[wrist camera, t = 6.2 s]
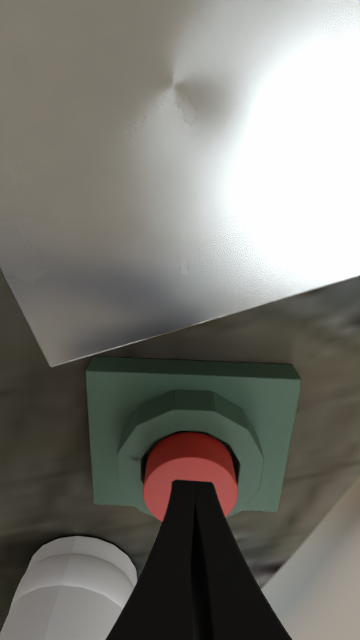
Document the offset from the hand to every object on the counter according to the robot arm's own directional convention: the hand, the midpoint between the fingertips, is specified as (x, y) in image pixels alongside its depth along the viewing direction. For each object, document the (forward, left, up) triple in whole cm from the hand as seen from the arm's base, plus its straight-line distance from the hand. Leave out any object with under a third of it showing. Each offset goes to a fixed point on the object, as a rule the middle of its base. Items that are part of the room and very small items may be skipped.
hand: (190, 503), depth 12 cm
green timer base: (0, -3, -8) cm, 9 cm away
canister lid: (-1, +12, -2) cm, 13 cm away
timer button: (0, -3, -5) cm, 6 cm away
